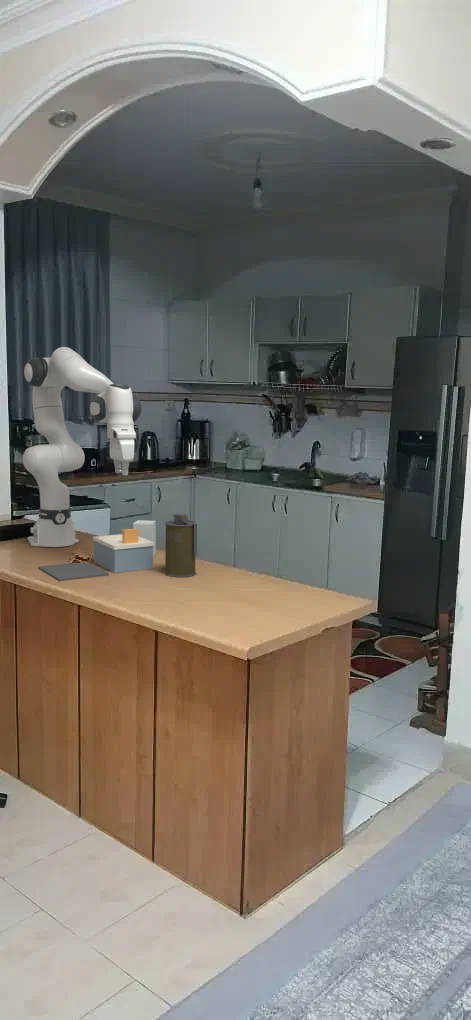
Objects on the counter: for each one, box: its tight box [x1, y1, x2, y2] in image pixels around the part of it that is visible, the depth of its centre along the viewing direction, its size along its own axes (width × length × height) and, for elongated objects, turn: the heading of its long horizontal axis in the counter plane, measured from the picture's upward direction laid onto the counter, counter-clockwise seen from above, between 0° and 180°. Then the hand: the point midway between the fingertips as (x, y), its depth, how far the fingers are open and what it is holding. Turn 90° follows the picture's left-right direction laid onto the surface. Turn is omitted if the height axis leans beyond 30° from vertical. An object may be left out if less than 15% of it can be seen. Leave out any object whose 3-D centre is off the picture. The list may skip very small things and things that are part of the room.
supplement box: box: [132, 519, 157, 557], centre depth 291 cm, size 7×7×13 cm
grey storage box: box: [93, 540, 154, 574], centre depth 274 cm, size 18×14×8 cm
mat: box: [38, 562, 110, 582], centre depth 264 cm, size 20×17×1 cm
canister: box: [164, 513, 198, 578], centre depth 263 cm, size 11×10×20 cm
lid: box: [92, 528, 154, 550], centre depth 273 cm, size 19×15×7 cm
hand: (121, 474), depth 266 cm, fingers open, 8 cm apart
